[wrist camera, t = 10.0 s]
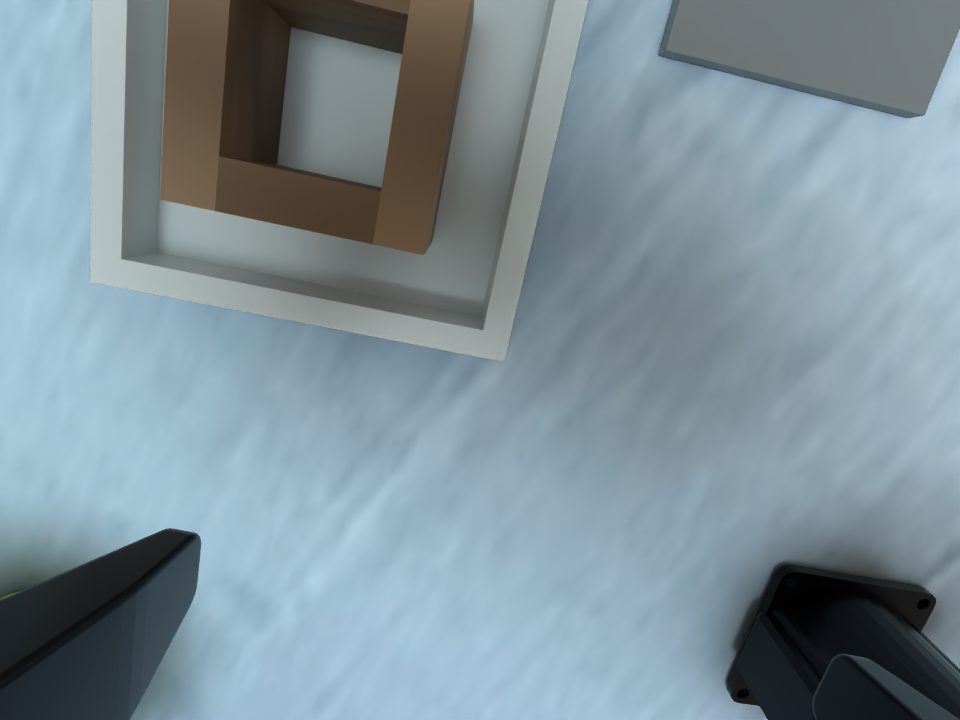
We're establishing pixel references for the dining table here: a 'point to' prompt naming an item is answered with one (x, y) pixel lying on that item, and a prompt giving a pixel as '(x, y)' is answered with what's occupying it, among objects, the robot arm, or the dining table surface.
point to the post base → (823, 46)
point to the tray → (346, 155)
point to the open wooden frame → (259, 104)
